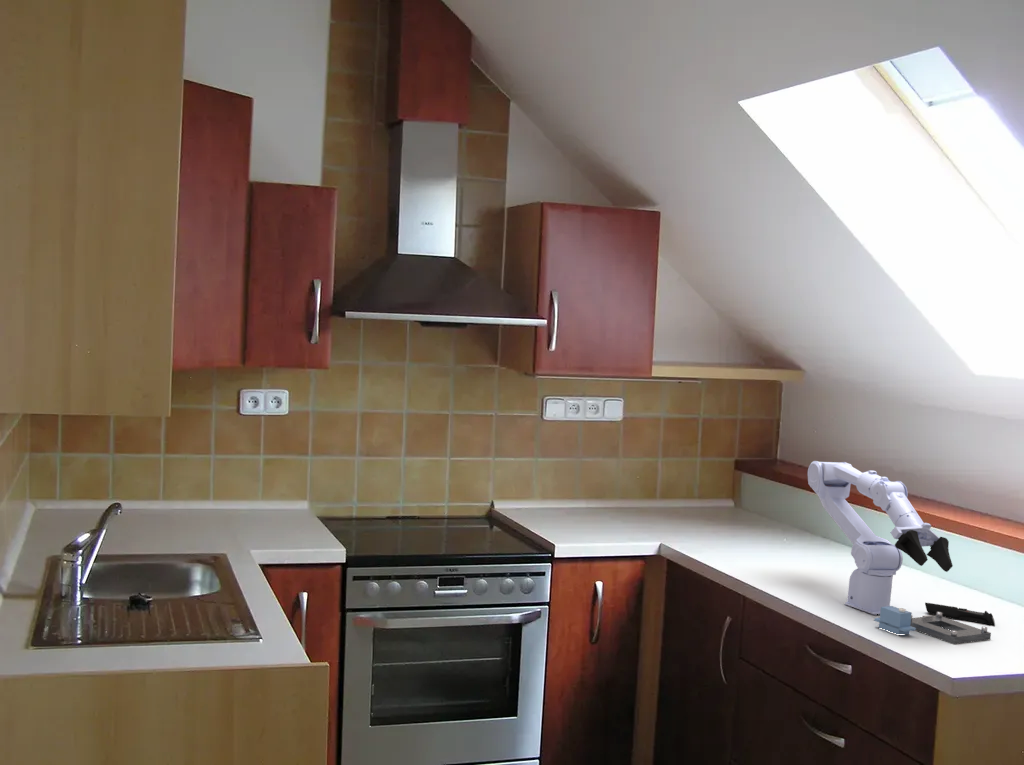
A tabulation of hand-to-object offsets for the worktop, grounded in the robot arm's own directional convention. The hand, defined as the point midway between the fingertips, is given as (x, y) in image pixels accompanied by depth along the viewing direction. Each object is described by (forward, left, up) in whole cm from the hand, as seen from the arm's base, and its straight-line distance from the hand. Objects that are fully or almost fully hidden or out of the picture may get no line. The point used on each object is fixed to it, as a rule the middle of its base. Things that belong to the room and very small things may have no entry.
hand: (936, 565), depth 243 cm
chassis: (-1, +7, -16) cm, 17 cm away
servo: (-5, -5, -16) cm, 17 cm away
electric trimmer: (-8, +21, -16) cm, 28 cm away
